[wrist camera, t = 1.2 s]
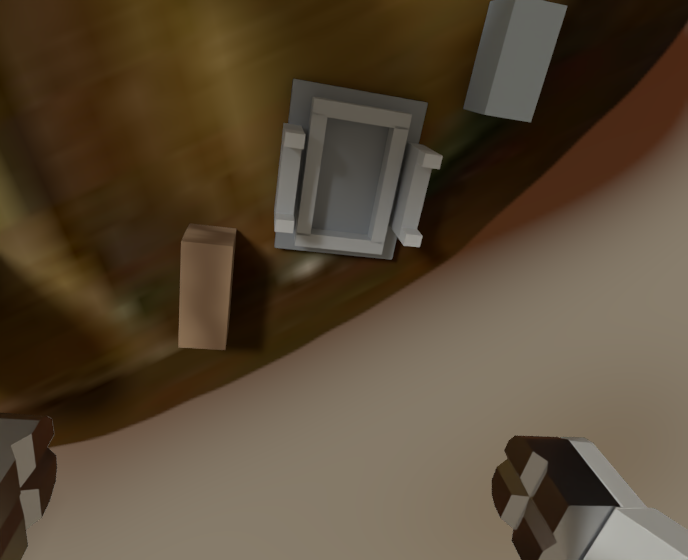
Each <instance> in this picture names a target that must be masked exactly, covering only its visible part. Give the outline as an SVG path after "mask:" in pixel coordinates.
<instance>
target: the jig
mask: <svg viewBox="0 0 688 560" xmlns="http://www.w3.org/2000/svg"><path fill="white" fill-rule="evenodd" d="M427 105H428V103H426V102H422V101H417V100H411V99H405V98H400V97H394V96H388V95H383V94H377V93H372V92H366V91H360V90H355V89H349V88H344V87H338V86H332V85H327V84H321V83H316V82H310V81H304V80H299V79H293V84H292V93H291V102H290V111H289V120H288V123H284V124H283V134H282V143H281V152H280V161H279V171H278V180H277V189H276V198H275V208H274V228H275V232H276V236H275V248H283V249H293V250H302V251H312V252H322V253H332V254H341V255H351V256H361V257H371V258H381V259H390V260H392V258H393V253H394V249H395V245H396V240H397V237H398V238H399V240H400V241H401V243H402V244H403V246H412V247H420V244H421V241H422V237H423V236H422V235H421V233H420V232H419V231H418V230H417V227H418V223H419V219H420V215H421V211H422V207H423V203H424V199H425V195H426V191H427V187H428V183H429V179H430V174H431V170H432V168H434V169H440V166H441V162H442V158H443V156H442V155H440V154H438V153H437V152H435V151H433V150H431V149H430V148H428V147H426V146H424V145H421V144H419V140H420V136H421V131H422V127H423V123H424V118H425V114H426V109H427Z"/></svg>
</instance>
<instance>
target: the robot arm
mask: <svg viewBox="0 0 688 560" xmlns="http://www.w3.org/2000/svg"><path fill="white" fill-rule="evenodd" d="M53 436H54V429H53V422H52V418H50V417H48V416H43V415H27V414H12V413H0V560H21V559H22V557H23V555H24V553H25V551H26V549H27V547H28V542H27V534H26V529H28V528H29V527H30V526H32V525H33V524H34V523H36V522H37V521H38V520H40V519H41V518H42V516H43V514H44V512H45V510H46V508H47V506H48V504H49V502H50V499H51V496H52V492H53V488H54V485H55V482H56V473H57V459H56V455H55V454H54V453H53V452H52V451H51V450H50V449H49V448H48V445H49V443H50V441H51V439H52V438H53ZM505 453H506V456H507V460H505V461H504V462H503V463H501V464H500V465H499V466H498V467H497V468H496V470H495V473H494V475H493V478H492V496H493V501H494V505H495V508H496V510H497V512H498V514H499V516H500V518H501V519H502V520H503V521H504V522H506V523H507V524H508V525H509V526H510V527H511V528H513V534H512V542H513V544H514V546H515V548H516V550H517V552H518V554H519V556H520V558H521V560H688V529H686V528H684V527H683V526H681V525H680V524H678V523H677V522H675V521H674V520H672V519H671V518H669V517H667V516H666V515H665V514H663V513H661V512H660V511H658V510H657V509H655V508H647V507H646V505H645V504H644V503H643V502H642V501H641V500H640V498H639V497H638V496H637V495H636V494H635V492H634V491H633V490H632V489H631V488H630V486H629V485H628V484H627V483H626V482H625V480H624V479H623V478H622V477H621V476H620V474H619V473H618V472H617V471H616V470H615V468H614V467H613V466H612V465H611V464H610V462H609V461H608V460H607V459H606V458H605V457H604V455H603V454H602V453H601V452H600V451H599V449H598V448H597V447H596V446H595V445H594V444H593V443H592V442H591V441H589V440H588V439H586V438H581V437H560V438H559V437H539V436H514V437H513V438H512V439H510V440H509V442H508V444H507V446H506V448H505Z"/></svg>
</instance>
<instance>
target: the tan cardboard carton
mask: <svg viewBox="0 0 688 560" xmlns="http://www.w3.org/2000/svg"><path fill="white" fill-rule="evenodd" d="M235 241H236V229H234V228H225V227H216V226H207V225H199V224H189V226H188V228H187V230H186V232H185V234H184V236H183V238H182V240H181V268H180V307H179V346H178V347H182V348H200V349H217V350H225V349H226V342H227V335H228V328H229V318H230V305H231V293H232V280H233V267H234V254H235Z"/></svg>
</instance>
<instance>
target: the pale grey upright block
mask: <svg viewBox="0 0 688 560" xmlns="http://www.w3.org/2000/svg"><path fill="white" fill-rule="evenodd" d="M566 9H567V6H566V5H561V4H557V3H552V2H548V1H544V0H493V1H490V4H489V8H488V12H487V16H486V20H485V24H484V28H483V32H482V36H481V40H480V44H479V48H478V52H477V56H476V60H475V64H474V68H473V72H472V76H471V80H470V83H469V87H468V91H467V95H466V99H465V103H464V107H463V109H465V110H469V111H472V112H476V113H480V114H483V115H489V116H495V117H501V118H507V119H513V120H519V121H525V122H531V121H532V117H533V114H534V111H535V108H536V105H537V102H538V98H539V95H540V92H541V89H542V86H543V82H544V79H545V76H546V73H547V70H548V67H549V63H550V60H551V57H552V54H553V51H554V47H555V44H556V41H557V38H558V35H559V32H560V28H561V25H562V22H563V19H564V16H565V13H566Z"/></svg>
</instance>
